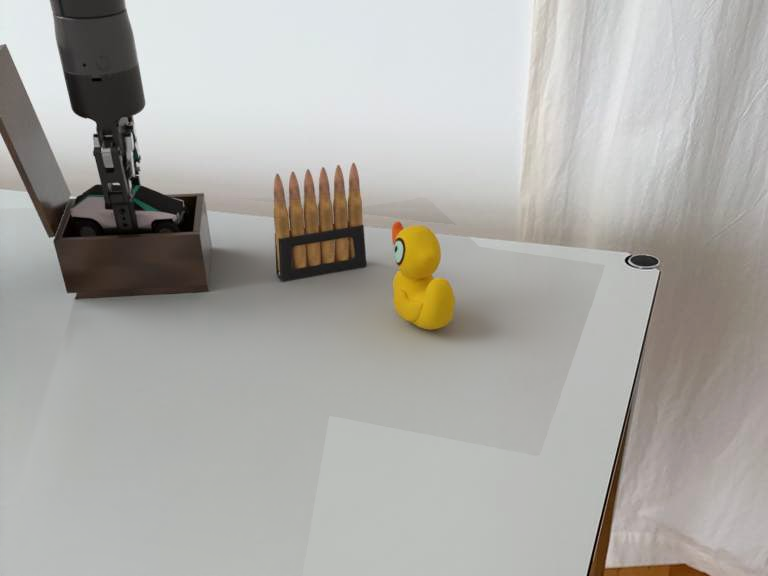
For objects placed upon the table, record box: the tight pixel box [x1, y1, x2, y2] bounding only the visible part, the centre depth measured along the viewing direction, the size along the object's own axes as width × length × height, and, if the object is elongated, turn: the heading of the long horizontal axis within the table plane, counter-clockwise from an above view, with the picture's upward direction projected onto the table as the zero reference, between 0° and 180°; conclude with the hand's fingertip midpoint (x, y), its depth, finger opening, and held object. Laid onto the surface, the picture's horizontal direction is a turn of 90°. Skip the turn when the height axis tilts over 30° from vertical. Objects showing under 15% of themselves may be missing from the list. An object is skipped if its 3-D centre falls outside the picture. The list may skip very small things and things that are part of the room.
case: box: [53, 192, 213, 299], centre depth 104 cm, size 16×12×7 cm
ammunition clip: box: [273, 162, 368, 282], centre depth 103 cm, size 11×2×12 cm, turn 112°
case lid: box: [0, 43, 72, 239], centre depth 95 cm, size 16×12×1 cm
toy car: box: [70, 183, 190, 237], centre depth 102 cm, size 6×12×5 cm, turn 88°
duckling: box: [391, 221, 456, 330], centre depth 95 cm, size 11×5×10 cm, turn 27°
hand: (132, 221), depth 102 cm, fingers closed on toy car, 6 cm apart
